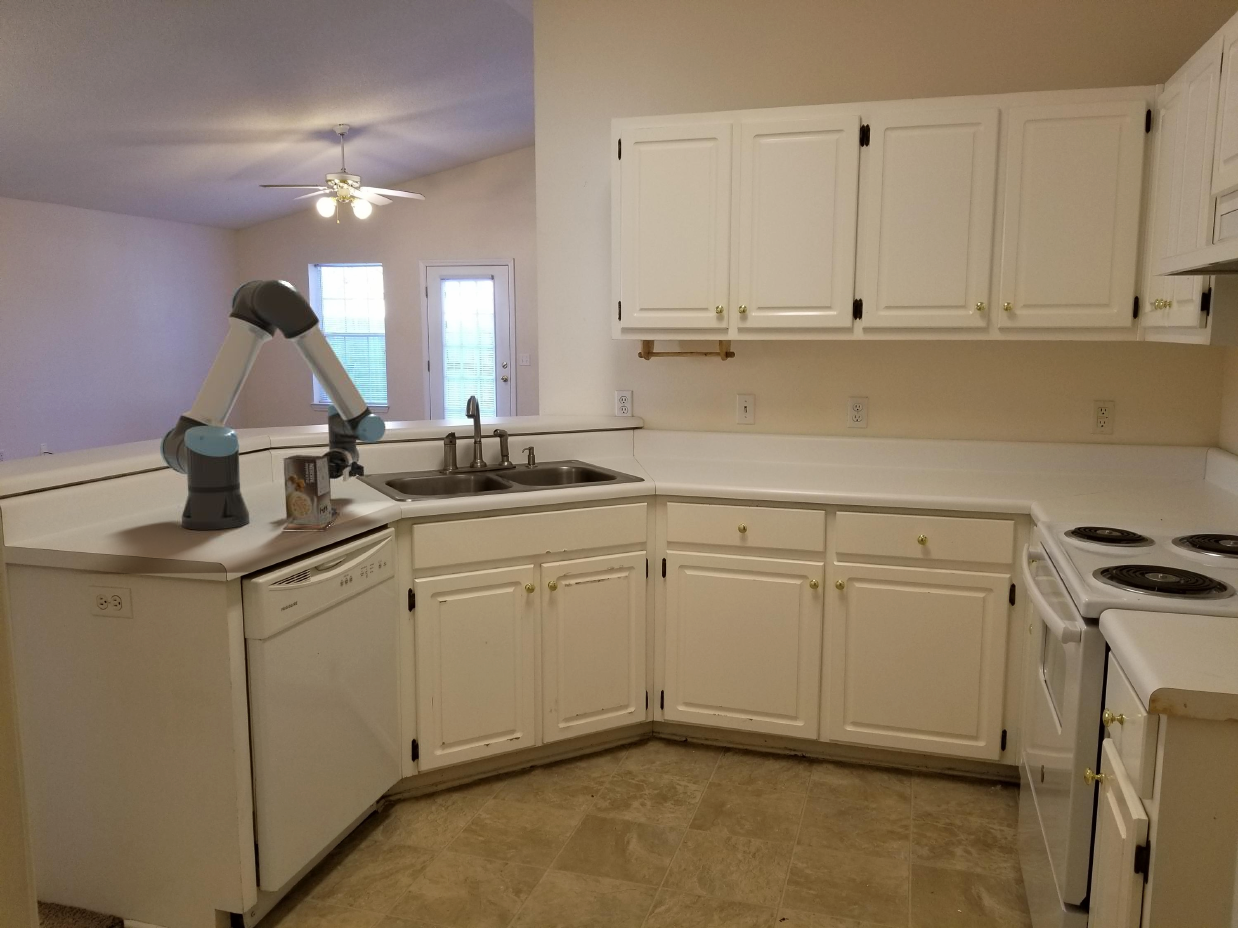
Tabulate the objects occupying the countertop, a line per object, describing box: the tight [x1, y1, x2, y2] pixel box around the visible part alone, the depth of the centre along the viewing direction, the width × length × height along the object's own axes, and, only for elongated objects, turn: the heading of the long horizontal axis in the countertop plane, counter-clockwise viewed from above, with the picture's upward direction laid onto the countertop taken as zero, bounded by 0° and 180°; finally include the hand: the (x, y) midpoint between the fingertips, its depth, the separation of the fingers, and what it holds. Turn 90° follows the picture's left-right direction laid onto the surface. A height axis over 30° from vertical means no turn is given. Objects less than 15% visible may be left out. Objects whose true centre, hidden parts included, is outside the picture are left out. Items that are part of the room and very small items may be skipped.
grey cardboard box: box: [283, 454, 332, 525], centre depth 217 cm, size 9×6×16 cm
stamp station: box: [282, 507, 342, 531], centre depth 222 cm, size 10×18×2 cm, turn 6°
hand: (316, 476), depth 226 cm, fingers open, 13 cm apart
